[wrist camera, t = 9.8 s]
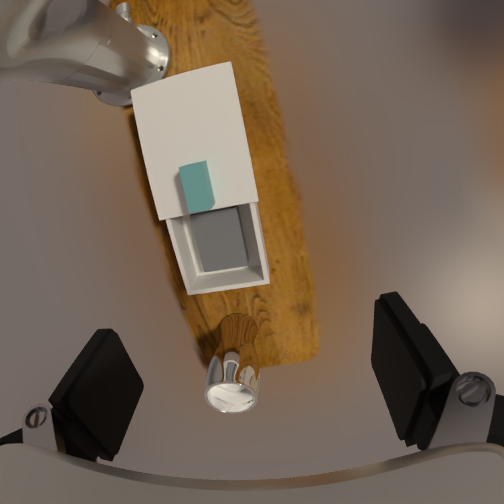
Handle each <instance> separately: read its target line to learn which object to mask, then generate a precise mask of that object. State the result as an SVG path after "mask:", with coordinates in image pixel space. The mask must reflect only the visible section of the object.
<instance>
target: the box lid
mask: <svg viewBox="0 0 504 504" xmlns="http://www.w3.org/2000/svg"><path fill="white" fill-rule="evenodd" d="M130 91H131V97H132V102H133V108H134V113H135V119H136V124H137V129H138V134H139V139H140V143H141V148H142V153H143V157H144V161H145V166H146V170H147V174H148V178H149V183H150V187H151V191H152V195H153V198H154V202H155V206H156V210H157V214H158V217H159V221H160V220H164V219H169V218H174V217H178V216H183V215H188V214H193V213H198V212H203V211H208V210H213V209H218V208H224V207H229V206H234V205H240V204H246V203H251V202H257V201H258V195H257V190H256V184H255V179H254V174H253V169H252V164H251V158H250V153H249V148H248V143H247V138H246V133H245V128H244V123H243V118H242V113H241V108H240V103H239V98H238V93H237V88H236V83H235V79H234V74H233V69H232V64H231V61H230V62H226V63H221V64H217V65H212V66H208V67H204V68H200V69H196V70H192V71H189V72H185V73H181V74H178V75H175V76H171V77H168V78H165V79H162V80H159V81H156V82H153V83H150V84H147V85H144V86H141V87H138V88H136V89H133V90H130Z"/></svg>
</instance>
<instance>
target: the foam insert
mask: <svg viewBox="0 0 504 504" xmlns="http://www.w3.org/2000/svg"><path fill="white" fill-rule="evenodd" d="M190 220H191V224H192V228H193V232H194V235H195V239H196V243H197V247H198V251H199V254H200V258H201V262H202V265H203V269H204V272H212V271H218V270H225V269H231V268H238V267H244V266H248V262H249V256H248V252H247V247H246V242H245V237H244V232H243V227H242V223H241V218H240V213H239V208H238V205H234V206H229V207H224V208H218V209H213V210H208V211H203V212H198V213H193V214H191V215H190Z"/></svg>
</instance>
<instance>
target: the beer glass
mask: <svg viewBox="0 0 504 504" xmlns="http://www.w3.org/2000/svg"><path fill="white" fill-rule="evenodd" d="M257 331H258V327H257V324H256V322H255V321H254V320H253V319H252V318H251V317H250V316H248V315H245V314H241V313H234V314H230V315H228V316H226V317H225V318H224V319H223V320H222V322H221V324H220V334H221V337H220V341H219V343H218V345H217V347H216V349H215V351H214V353H213V355H212V358H211V360H210V363H209V367H208V371H207V377H206V385H205V393H204V397H205V400H206V402H207V403H208V404H209V405H210V406H211V407H212V408H214V409H216V410H218V411H221V412H224V413H230V414H238V413H244V412H247V411H249V410H251V409H252V408H254V407H255V405H256V404H257V400H258V399H257V397H258V390H259V380H260V369H259V362H258V357H257V353H256V349H255V338H256V335H257Z"/></svg>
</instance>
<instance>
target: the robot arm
mask: <svg viewBox="0 0 504 504" xmlns="http://www.w3.org/2000/svg"><path fill="white" fill-rule="evenodd" d="M116 11H117V13H116V12H115V11H113V10H112V9H110V8H109V7H108V6H106V5H105V4H103V3H102V2H100V1H99V0H0V82H4V81H13V80H27V81H38V82H47V83H55V84H61V85H68V86H74V87H79V88H85V89H90V90H92V91H93V93H94V94H95V96H96V97H97V98H98V99H100V100H101V101H102V102H104V103H106V104H109V105H114V106H129V105H132V104H133V102H132V97H131V91H130V90H133V89H136V88H138V87H141V86H144V85H147V84H150V83H153V82H156V81H159V80H162V79H164V78H165V76H166V74H167V72H168V69H169V66H170V61H171V50H170V46H169V43H168V41H167V39H166V38H165V36H164V35H163V34H162V33H161V32H160V31H158V30H157V29H156V28H153V27H151V26H148V25H135V24H134V21H133V19H132V18H130V4H129V3H121V4H119V5H117V7H116ZM156 36H157V37H156ZM163 68H164V69H163ZM161 69H163V71H161ZM371 363H372V368H373V370H374V372H375V375H376V378H377V380H378V383H379V386H380V388H381V391H382V393H383V396H384V399H385V401H386V404H387V407H388V410H389V412H390V415H391V418H392V421H393V423H394V426H395V429H396V432H397V435H398V438H399V439H400V440H405V443H406V446H407V447H409V446H411V445H414V444H417V446H418V449H420V450H421V451H420V452H416V453H413V454H409V455H406V456H402V457H398V458H394V459H390V460H386V461H383V462H379V463H375V464H370V465H366V466H362V467H357V468H352V469H348V470H341V471H336V472H330V473H324V474H317V475H310V476H302V477H293V478H282V479H267V480H203V479H189V478H179V477H170V476H162V475H154V474H148V473H142V472H136V471H131V470H126V469H120V468H116V467H112V466H107V465H103V464H99V463H98V462H97V460H96V459H97V457H98V456H99V457H100V458H101V459H103V460H108V461H113V458H114V456H115V455H116V454H118V452H119V449H120V446H121V444H122V441H123V439H124V436H125V434H126V431H127V429H128V426H129V424H130V421H131V419H132V416H133V413H134V411H135V409H136V406H137V404H138V401H139V399H140V396H141V394H142V391H143V387H144V385H143V381H142V379H141V377H140V376H139V374H138V372H137V370H136V369H135V367H134V365H133V363H132V361H131V359H130V357H129V355H128V353H127V352H126V350H125V348H124V346H123V344H122V342H121V340H120V338H119V336H118V334H117V333H116V332H114V331H113V330H112V329H98V330H97V331H96V332H95V333H94V335H93V336H92V337H91V339H90V340H89V341H88V343H87V344H86V345H85V347H84V348H83V350H82V351H81V353H80V354H79V355H78V357H77V358H76V360H75V361H74V363H73V364H72V365H71V367H70V368H69V369H68V371H67V372H66V374H65V375H64V377H63V378H62V380H61V381H60V383H59V384H58V386H57V387H56V389H55V390H54V392H53V393H52V395H51V396H50V398H49V399H48V401H49V402H50V403H51V404H52V406H53V408H52V409H50V408H49V406H47V405H46V404H38V405H34V406H33V407H31V408H30V409H29V410H28V411H27V412H26V413H25V415H24V417H23V421H22V428H21V429H19V430H17V431H15V432H13V433H10V434H8V435H6V436H4V437H2V438H0V504H504V396H502V395H498V394H496V389H495V386H494V383H493V382H492V380H491V379H490V378H489V377H487V376H486V375H484V374H481V373H479V372H467V373H463V374H462V375H460V374H459V372H458V371H457V369H456V368H455V366H454V365H453V363H452V362H451V360H450V359H449V357H448V356H447V354H446V353H445V351H444V350H443V349H442V347H441V346H440V344H439V343H438V341H437V340H436V338H435V337H434V336H433V334H432V333H431V331H430V330H429V328H428V327H427V326H426V325H425V324H423V323H422V324H420V322H419V321H418V319H417V318H416V317H415V315H414V314H413V313H412V311H411V310H410V308H409V307H408V306H407V304H406V303H405V302H404V300H403V299H402V298H401V296H400V295H399V294H398V293H397V292H391V293H385V294H381V295H380V297H379V299H377V300H375V309H374V328H373V342H372V354H371Z"/></svg>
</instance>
